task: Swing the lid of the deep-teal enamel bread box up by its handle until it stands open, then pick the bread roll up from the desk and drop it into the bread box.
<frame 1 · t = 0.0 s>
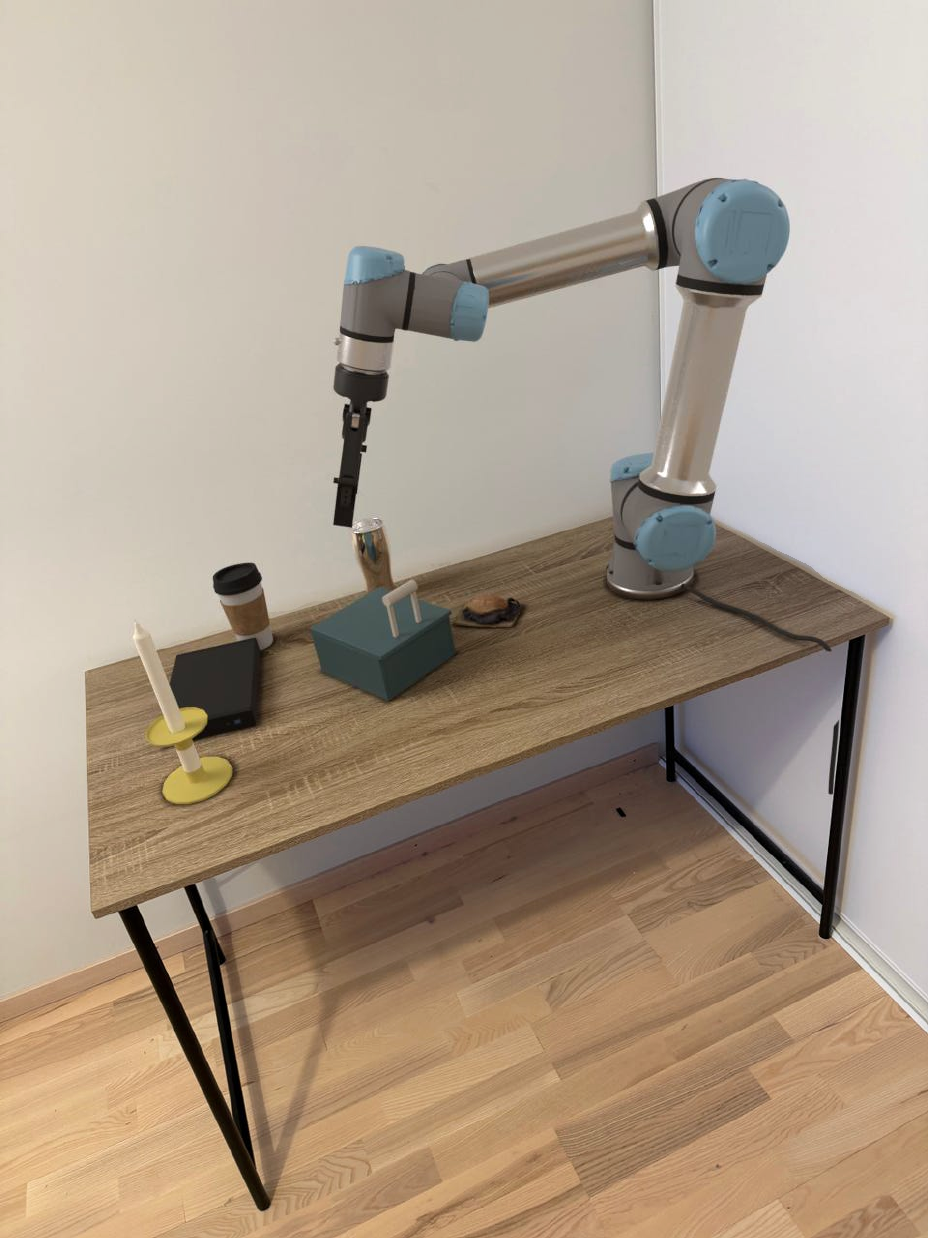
hand: (345, 508, 128), 28 cm above the table, tool tilted 20°, fingers open, 13 cm apart
external hard drive: (216, 696, 140), on the table
candle: (198, 781, 121), on the table
bread box lid: (376, 601, 134), point 12 cm above the table, hinge at 0.0°
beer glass: (382, 596, 162), on the table
bread roll: (489, 617, 149), on the table
coffee cup: (257, 644, 153), on the table
bread box: (388, 662, 141), on the table
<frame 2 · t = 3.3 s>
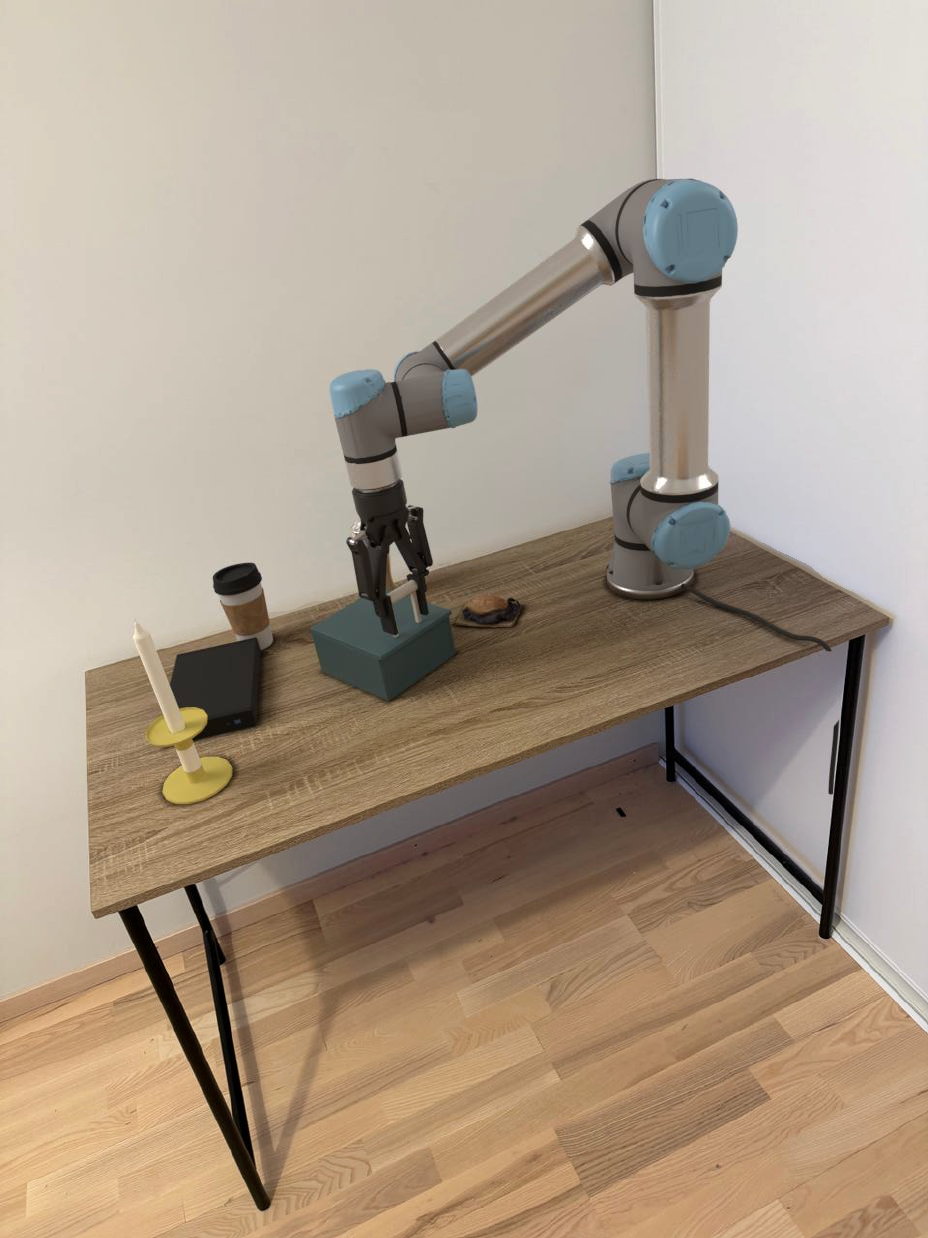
hand: (406, 622, 131), 10 cm above the table, tool pointing down, fingers closed on bread box lid, 6 cm apart
bread box lid: (376, 601, 134), point 12 cm above the table, hinge at 0.0°, touching gripper
everything else where it was.
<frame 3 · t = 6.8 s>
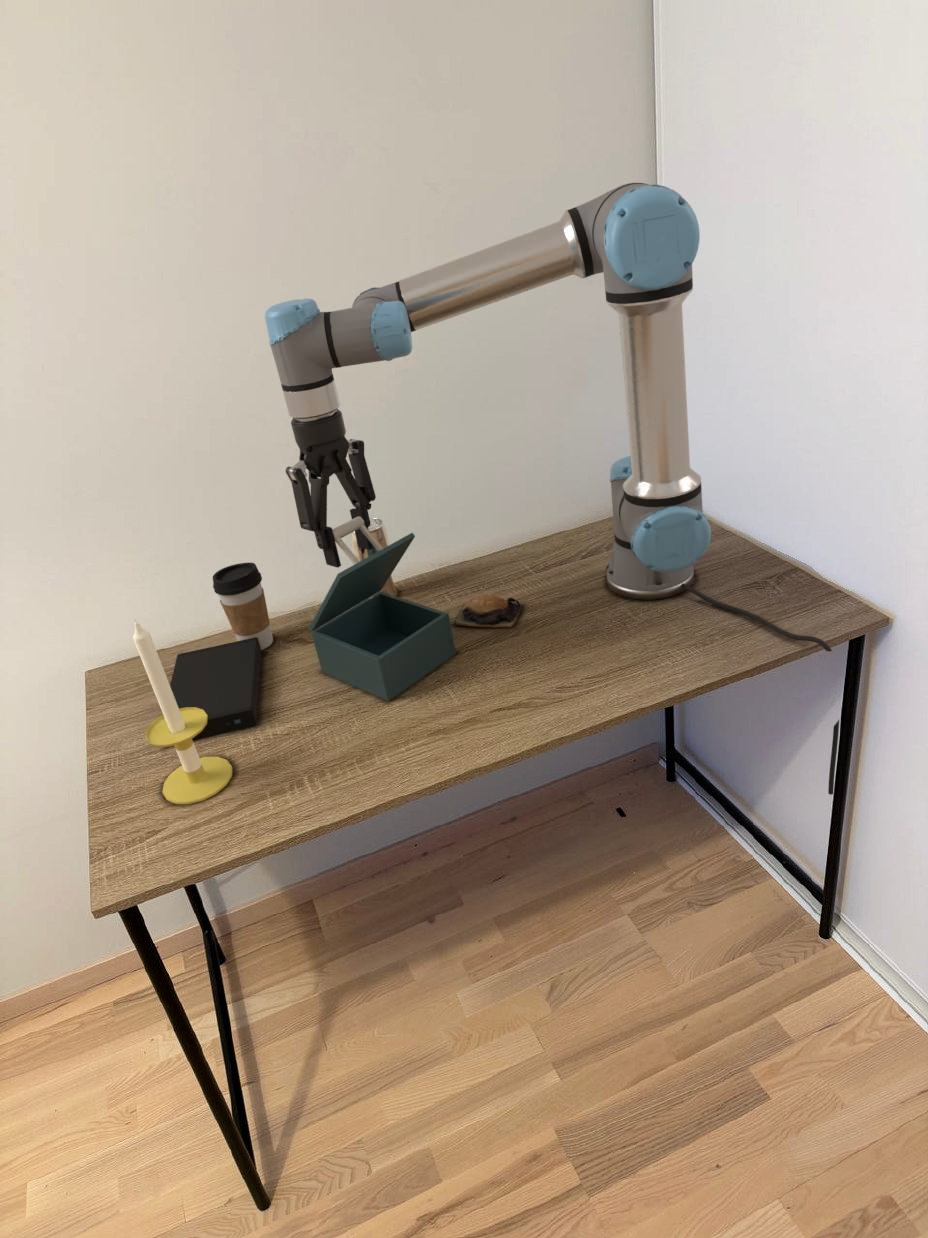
hand: (349, 555, 134), 19 cm above the table, tool pointing down, fingers closed on bread box lid, 6 cm apart
bread box lid: (347, 565, 135), point 17 cm above the table, hinge at 47.1°, touching gripper
everything else where it was.
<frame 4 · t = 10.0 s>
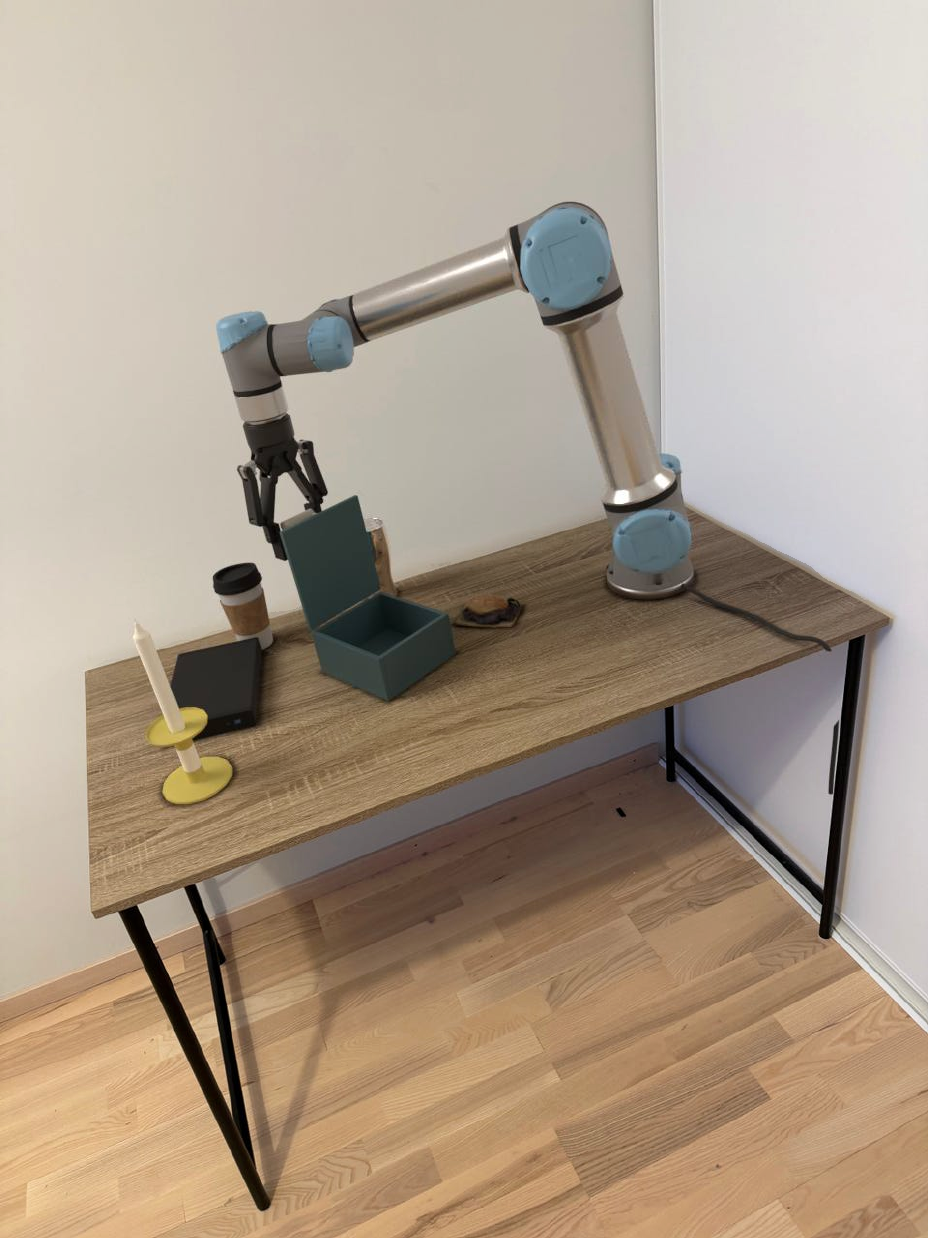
hand: (300, 548, 143), 18 cm above the table, tool pointing down, fingers open, 7 cm apart
bread box lid: (319, 558, 140), point 17 cm above the table, hinge at 92.3°
everything else where it was.
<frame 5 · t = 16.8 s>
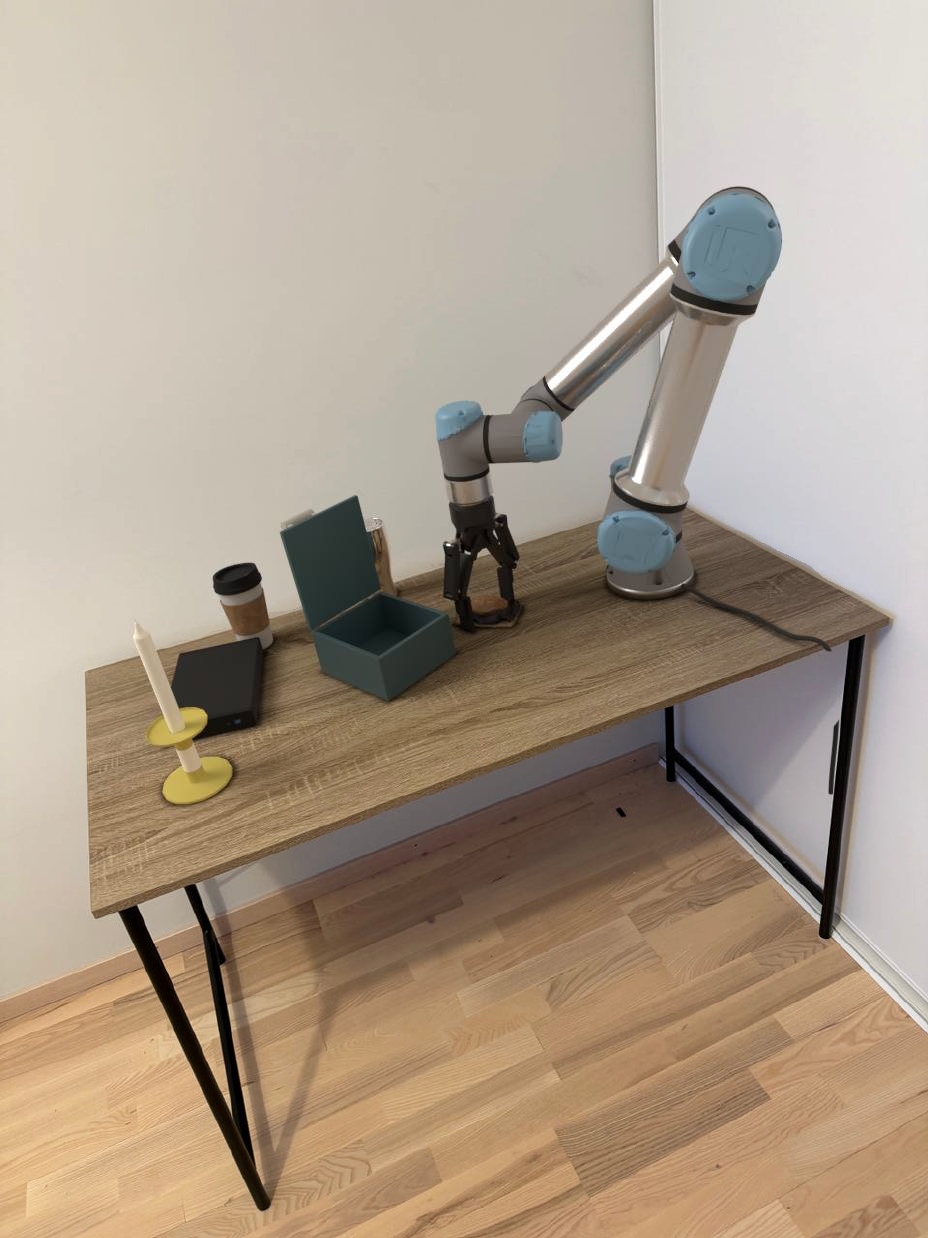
hand: (488, 614, 149), 0 cm above the table, tool pointing down, fingers closed on bread roll, 10 cm apart
bread roll: (489, 617, 149), on the table, touching gripper
everything else where it was.
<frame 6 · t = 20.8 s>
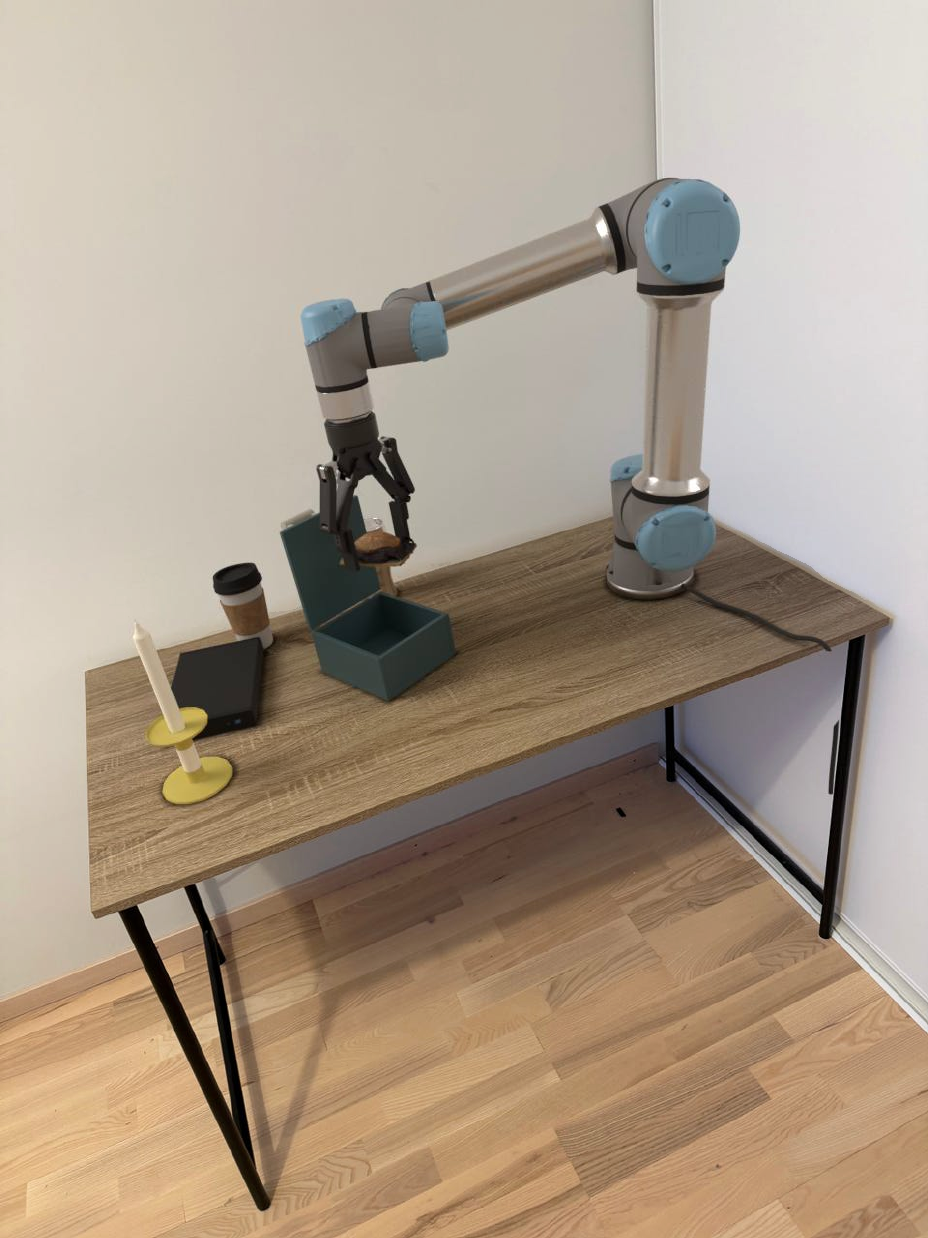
hand: (378, 554, 132), 20 cm above the table, tool pointing down, fingers closed on bread roll, 10 cm apart
bread roll: (379, 556, 132), point 19 cm above the table, touching gripper
everything else where it was.
when the fingers open (6 cm above the table, at t = 24.7 s): bread roll drops 4 cm, resting on bread box.
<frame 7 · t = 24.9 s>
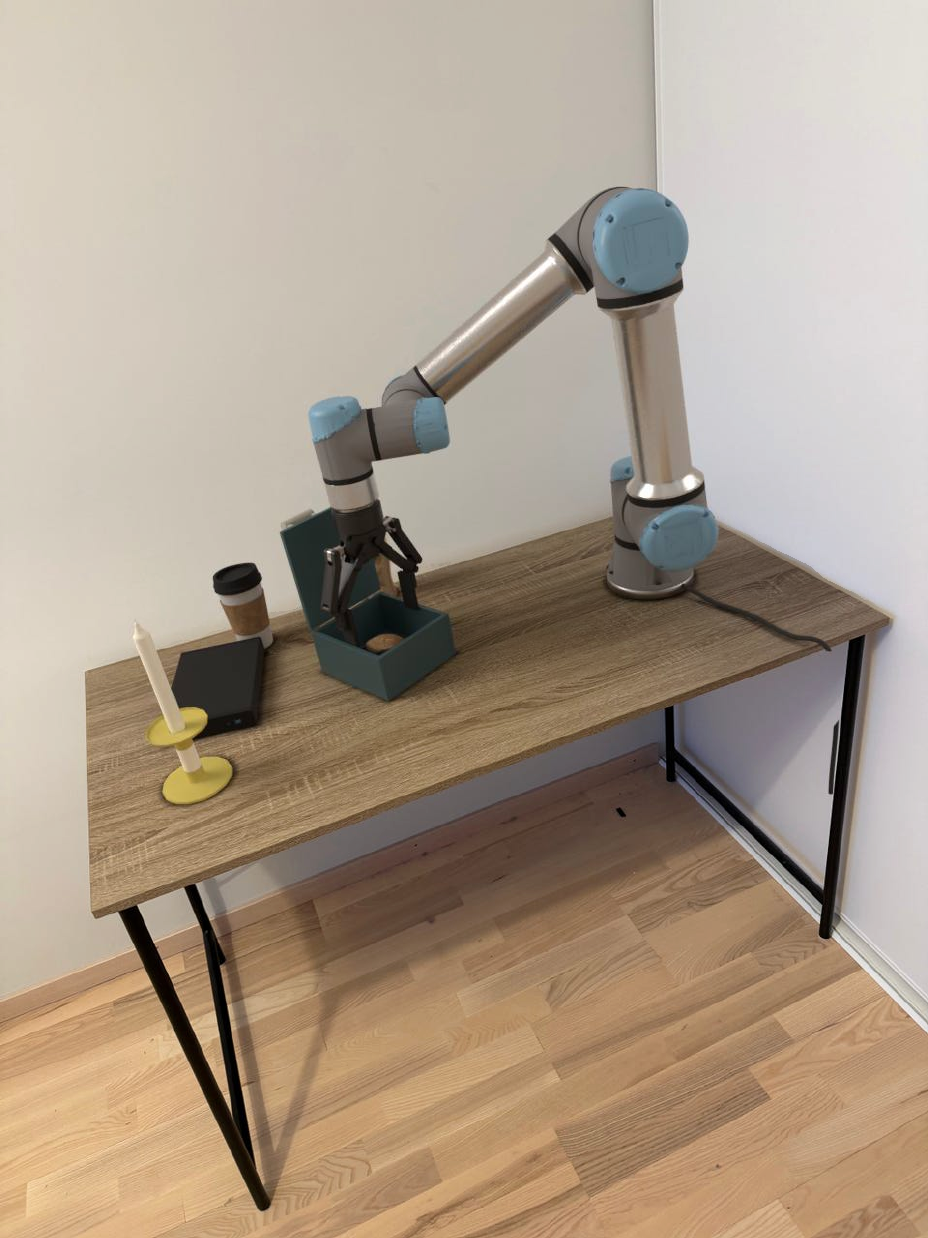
hand: (383, 625, 136), 7 cm above the table, tool pointing down, fingers open, 12 cm apart
bread roll: (388, 658, 139), point 1 cm above the table, touching bread box
everything else where it was.
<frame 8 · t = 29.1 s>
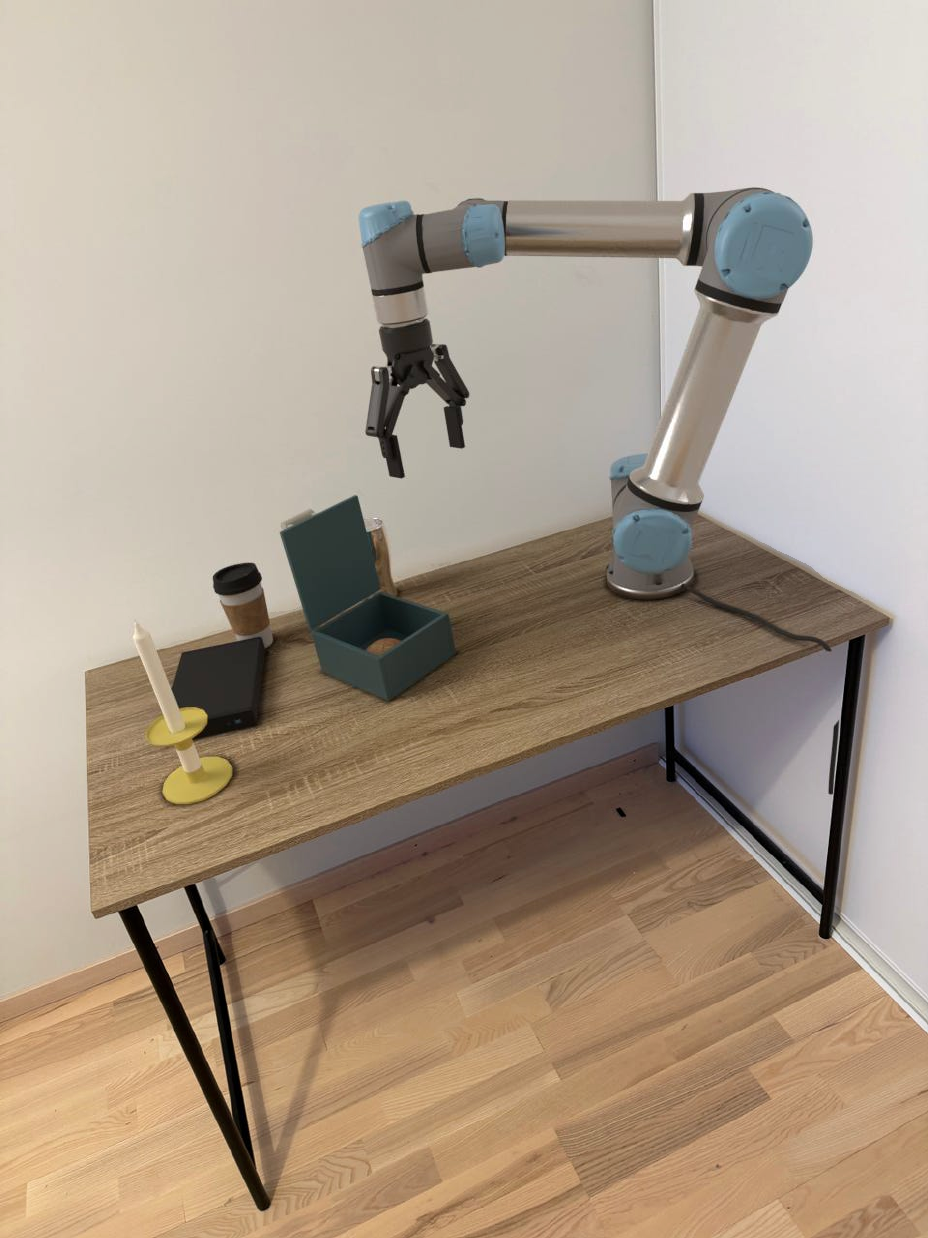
hand: (428, 461, 132), 31 cm above the table, tool pointing down, fingers open, 13 cm apart
at the end: bread box lid at +92° (first picture: +0°); bread roll inside the target area in the bread box (1.0 cm from its centre), point 0.6 cm above the bread box's base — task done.
